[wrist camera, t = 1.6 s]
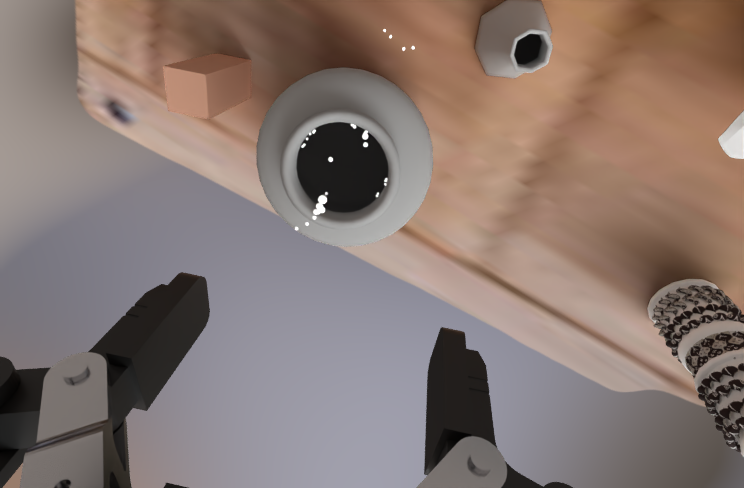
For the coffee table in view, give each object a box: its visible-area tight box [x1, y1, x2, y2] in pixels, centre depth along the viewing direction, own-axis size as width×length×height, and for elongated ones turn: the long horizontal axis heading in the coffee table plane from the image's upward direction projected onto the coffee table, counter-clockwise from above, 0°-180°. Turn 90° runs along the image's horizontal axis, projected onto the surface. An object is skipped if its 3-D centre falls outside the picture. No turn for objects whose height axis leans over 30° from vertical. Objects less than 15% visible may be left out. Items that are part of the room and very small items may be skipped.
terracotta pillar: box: [163, 53, 251, 119], centre depth 41 cm, size 4×4×10 cm
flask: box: [475, 0, 553, 79], centre depth 35 cm, size 7×7×10 cm
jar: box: [257, 29, 433, 247], centre depth 35 cm, size 19×15×25 cm
